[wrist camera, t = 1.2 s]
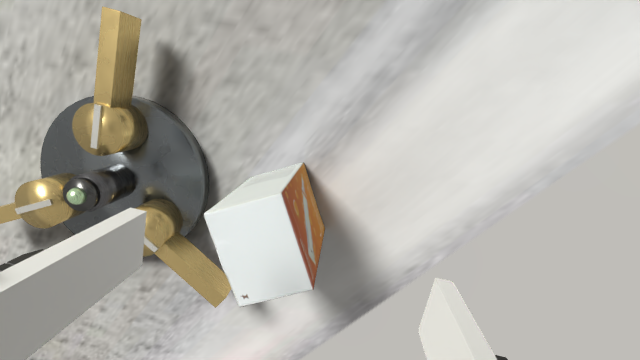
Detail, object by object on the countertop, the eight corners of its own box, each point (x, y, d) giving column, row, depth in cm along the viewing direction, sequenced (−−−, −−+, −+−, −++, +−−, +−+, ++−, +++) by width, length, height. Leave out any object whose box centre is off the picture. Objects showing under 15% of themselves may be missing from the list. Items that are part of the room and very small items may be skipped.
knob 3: (131, 218, 37) (104, 233, 33) (157, 189, 36) (133, 201, 32) (218, 296, 38) (203, 320, 34) (246, 270, 37) (233, 291, 33)
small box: (326, 228, 38) (315, 292, 25) (273, 241, 39) (237, 310, 26) (304, 159, 36) (281, 191, 24) (250, 175, 37) (199, 214, 25)
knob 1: (80, 168, 36) (46, 176, 32) (98, 209, 37) (67, 223, 33) (-19, 196, 38) (-64, 207, 34) (0, 235, 39) (-41, 251, 35)
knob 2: (144, 155, 35) (117, 162, 31) (100, 142, 35) (68, 148, 31) (161, 25, 32) (134, 14, 28) (113, 12, 32) (79, -1, 28)
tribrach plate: (61, 75, 36) (-26, 68, 28) (222, 119, 36) (183, 125, 28) (51, 227, 41) (-27, 260, 32) (194, 267, 40) (154, 311, 32)
